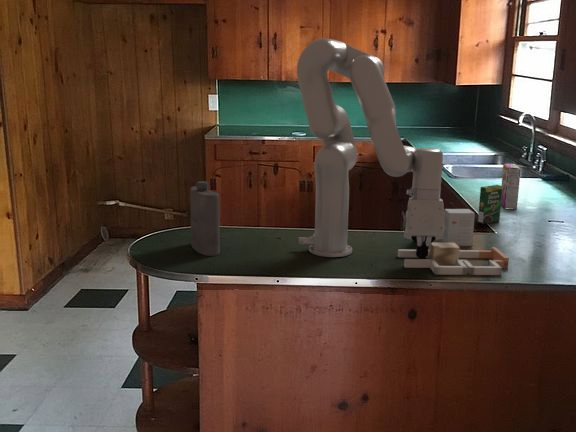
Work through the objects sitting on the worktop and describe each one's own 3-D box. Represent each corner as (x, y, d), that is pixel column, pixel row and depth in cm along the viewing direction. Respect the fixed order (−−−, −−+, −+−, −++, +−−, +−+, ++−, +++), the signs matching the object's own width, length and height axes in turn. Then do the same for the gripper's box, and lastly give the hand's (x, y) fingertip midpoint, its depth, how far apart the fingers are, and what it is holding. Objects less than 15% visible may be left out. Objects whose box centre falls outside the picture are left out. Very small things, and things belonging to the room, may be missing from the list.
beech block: (432, 264, 170) (434, 247, 168) (428, 259, 174) (429, 242, 173) (458, 265, 170) (459, 247, 168) (453, 259, 174) (454, 242, 173)
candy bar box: (498, 203, 251) (502, 163, 247) (511, 203, 250) (515, 163, 246) (503, 209, 240) (507, 167, 236) (517, 209, 239) (521, 168, 235)
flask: (186, 243, 186) (185, 178, 181) (205, 241, 188) (204, 177, 184) (202, 257, 173) (201, 187, 168) (222, 255, 175) (221, 185, 171)
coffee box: (482, 224, 216) (486, 187, 213) (476, 222, 218) (480, 186, 215) (499, 222, 219) (503, 185, 216) (493, 220, 222) (497, 184, 219)
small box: (466, 241, 194) (469, 208, 191) (472, 246, 188) (475, 212, 186) (441, 241, 193) (444, 208, 191) (446, 246, 188) (449, 212, 186)
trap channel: (409, 274, 161) (410, 263, 161) (397, 256, 177) (398, 246, 176) (515, 275, 162) (516, 264, 161) (494, 257, 178) (495, 247, 177)
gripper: (401, 196, 164) (397, 262, 168) (457, 197, 164) (452, 263, 168) (396, 191, 171) (392, 254, 175) (449, 191, 171) (444, 255, 176)
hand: (421, 258), depth 172 cm, fingers closed
